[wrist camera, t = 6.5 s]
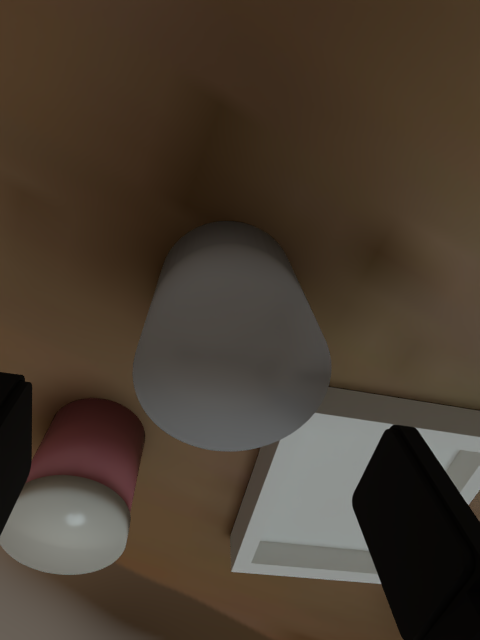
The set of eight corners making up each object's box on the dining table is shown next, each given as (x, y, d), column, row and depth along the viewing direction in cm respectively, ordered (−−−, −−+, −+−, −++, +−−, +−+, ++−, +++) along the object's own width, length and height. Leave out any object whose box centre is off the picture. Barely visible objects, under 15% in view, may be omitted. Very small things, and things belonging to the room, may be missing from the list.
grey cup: (170, 207, 17) (145, 269, 11) (309, 237, 18) (360, 310, 12) (151, 331, 19) (123, 438, 13) (273, 352, 20) (298, 461, 14)
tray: (284, 379, 21) (291, 409, 19) (487, 412, 23) (514, 442, 21) (230, 536, 27) (231, 571, 25) (395, 551, 29) (409, 586, 27)
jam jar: (49, 390, 21) (-7, 489, 15) (152, 404, 22) (132, 503, 16) (48, 462, 23) (-2, 569, 18) (141, 473, 24) (120, 578, 19)
